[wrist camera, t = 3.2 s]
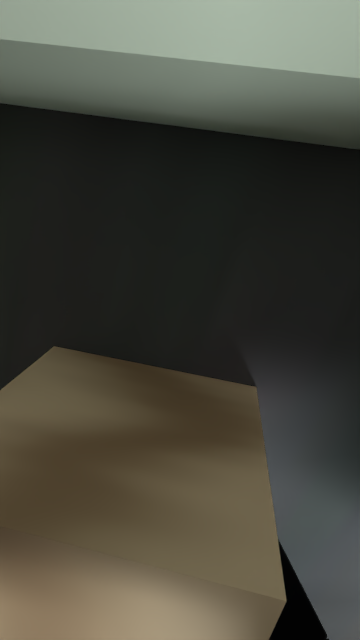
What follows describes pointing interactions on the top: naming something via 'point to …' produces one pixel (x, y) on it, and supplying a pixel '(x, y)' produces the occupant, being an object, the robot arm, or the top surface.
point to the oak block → (134, 505)
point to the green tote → (191, 63)
